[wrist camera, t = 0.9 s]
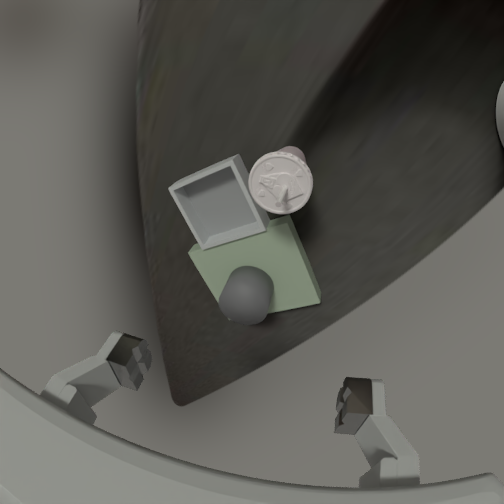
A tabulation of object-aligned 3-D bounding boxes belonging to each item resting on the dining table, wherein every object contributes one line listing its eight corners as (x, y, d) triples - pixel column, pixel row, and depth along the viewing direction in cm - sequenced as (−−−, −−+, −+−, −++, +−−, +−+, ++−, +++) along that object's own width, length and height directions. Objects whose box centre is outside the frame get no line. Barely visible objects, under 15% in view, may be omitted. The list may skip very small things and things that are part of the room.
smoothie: (307, 190, 39) (296, 245, 27) (260, 174, 39) (228, 222, 27) (322, 145, 35) (320, 181, 23) (273, 129, 35) (244, 156, 24)
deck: (259, 145, 37) (244, 160, 31) (321, 292, 47) (318, 326, 41) (162, 188, 43) (136, 209, 37) (233, 310, 53) (220, 341, 47)
